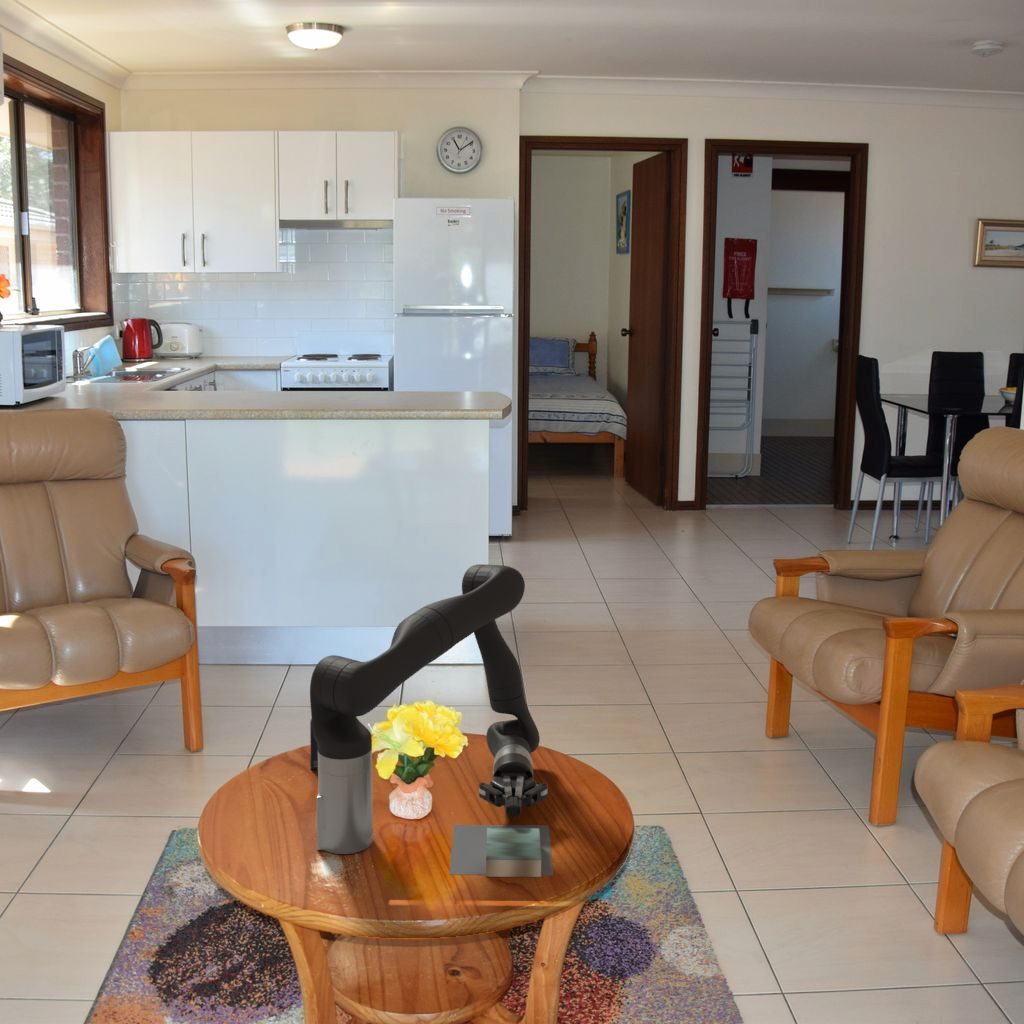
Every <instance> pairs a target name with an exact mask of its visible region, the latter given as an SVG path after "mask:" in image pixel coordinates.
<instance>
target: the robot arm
mask: <svg viewBox="0 0 1024 1024" xmlns="http://www.w3.org/2000/svg"><path fill="white" fill-rule="evenodd" d="M461 581H462V582H461V592H462V593H461V594H460V595H456V596H452V597H448V598H444V599H440V600H438V601H435V602H432V603H429V604H427V605H425V606H423V607H421V608H420V609H418V610H416V611H414V612H413V613H411V614H410V615H409V616H407V617H406V618H404V619H403V620H401V622H399V624H398V625H397V627H396V629H395V631H394V633H393V636H392V639H391V644H390V647H388V649H387V650H385V651H383V652H382V653H381V654H380V655H378V656H376V657H374V658H372V659H370V660H366V661H360V660H357V659H353V658H349V657H344V656H341V655H336V654H335V655H333V654H332V655H327V656H325V657H323V658H322V659H321V660H319V661H318V663H317V664H316V666H314V669H313V672H312V675H311V679H310V685H309V701H310V714H311V718H312V729H313V734H314V737H315V739H316V741H317V746H318V769H317V775H318V777H317V779H318V780H317V783H318V787H317V789H318V793H317V795H316V800H315V802H316V803H315V804H316V805H315V806H316V813H315V814H316V848H317V849H316V850H318V851H326V852H328V853H330V854H336V855H351V854H357V853H360V852H362V851H364V850H367V849H368V848H370V847H371V846H372V844H373V842H374V841H373V837H374V834H373V833H374V827H373V826H374V825H373V823H374V822H373V821H374V820H373V818H374V817H373V816H374V814H373V810H374V809H373V807H374V806H373V740H372V739H373V738H372V734H371V732H370V730H369V729H368V728H367V727H366V726H365V725H364V724H363V723H362V722H361V720H359V718H358V717H361V716H364V715H366V714H368V713H370V712H372V711H373V710H374V709H375V708H377V706H379V705H380V704H381V703H382V702H384V701H385V700H386V698H388V697H389V696H390V695H391V694H392V693H393V692H394V691H395V690H396V689H398V687H400V686H401V685H402V684H403V683H404V682H406V681H407V680H408V679H410V678H411V677H412V676H414V675H415V674H417V673H418V672H419V671H420V670H422V669H423V668H425V667H426V666H427V665H430V663H432V662H434V661H435V660H437V659H438V658H440V657H441V656H442V655H444V654H445V653H447V652H448V651H449V650H451V649H452V648H453V647H455V646H456V645H457V644H458V643H460V642H462V641H463V640H465V639H466V638H468V637H469V636H471V635H473V634H474V637H475V641H476V644H477V646H478V650H479V653H480V656H481V661H482V662H483V663H482V664H483V668H484V672H485V673H484V674H485V679H486V687H487V692H488V698H489V704H490V708H491V710H492V711H493V712H494V713H497V714H504V715H511V716H514V717H515V718H516V719H509V720H501V721H496V722H493V723H492V724H491V725H490V726H489V727H488V728H487V731H486V743H487V746H488V747H487V748H488V749H489V752H490V753H491V755H492V757H493V758H494V759H493V767H492V778H491V780H490V782H489V783H486V782H483V781H481V782H479V784H478V797H479V798H481V799H482V800H484V801H486V802H488V803H489V804H491V805H493V806H494V807H497V808H501V807H502V806H504V813H505V814H506V815H508V817H510V818H513V817H514V818H518V815H521V814H522V807H523V806H524V807H526V808H531V807H533V806H535V805H536V804H538V803H540V802H542V801H544V800H545V799H547V798H548V783H547V782H543V783H540V784H537V781H536V779H534V764H533V760H532V753H534V752H535V751H536V750H537V748H538V747H539V745H540V738H541V737H540V733H539V730H538V726H537V725H536V723H535V720H534V718H533V717H532V714H531V713H530V710H529V707H528V704H527V702H526V698H525V692H524V684H523V679H522V673H521V668H520V664H519V662H518V661H517V659H516V657H515V655H514V653H513V651H512V650H511V649H510V647H509V645H508V644H507V642H506V641H505V639H504V636H503V635H502V633H501V632H500V631H501V630H499V626H498V624H497V621H496V620H497V619H498V618H501V617H502V616H505V615H507V614H509V613H510V612H512V611H513V610H515V608H517V607H518V606H519V605H520V602H521V601H522V599H523V598H524V594H525V590H526V589H525V586H526V584H525V579H524V577H523V574H522V573H520V571H519V570H518V569H516V568H514V567H511V566H509V565H500V564H499V565H498V564H474V565H472V566H469V567H468V568H467V569H466V571H465V572H464V573H463V577H462V580H461Z"/></svg>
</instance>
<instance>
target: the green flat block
mask: <svg viewBox="0 0 1024 1024" xmlns="http://www.w3.org/2000/svg"><path fill="white" fill-rule="evenodd" d="M485 877H488V878H489V877H492V878H493V877H496V878H498V877H501V878H503V877H504V878H505V877H506V878H509V877H511V878H528V877H529V878H541V877H542V875H541V848H540V832H539V828H487V845H486V875H485Z"/></svg>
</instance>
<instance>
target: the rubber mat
mask: <svg viewBox="0 0 1024 1024" xmlns="http://www.w3.org/2000/svg"><path fill="white" fill-rule="evenodd" d="M487 828H539V832H540V848H541V877H542V876H546V877H547V876H548V877H549V876H550V877H551V876H554V871H553V859H552V849H551V847H552V846H551V838H550V837H551V836H550V835H551V834H550V825H538V824H537V825H531V824H530V825H527V824H526V825H524V824H523V825H518V824H516V825H515V824H514V825H513V824H511V825H510V824H508V825H505V824H504V825H503V824H453V830H452V831H453V832H452V844H451V854H450V861H449V862H450V864H449V873H448V874H449V875H451V876H452V875H453V876H455V875H457V876H458V875H459V876H486V845H487Z"/></svg>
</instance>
